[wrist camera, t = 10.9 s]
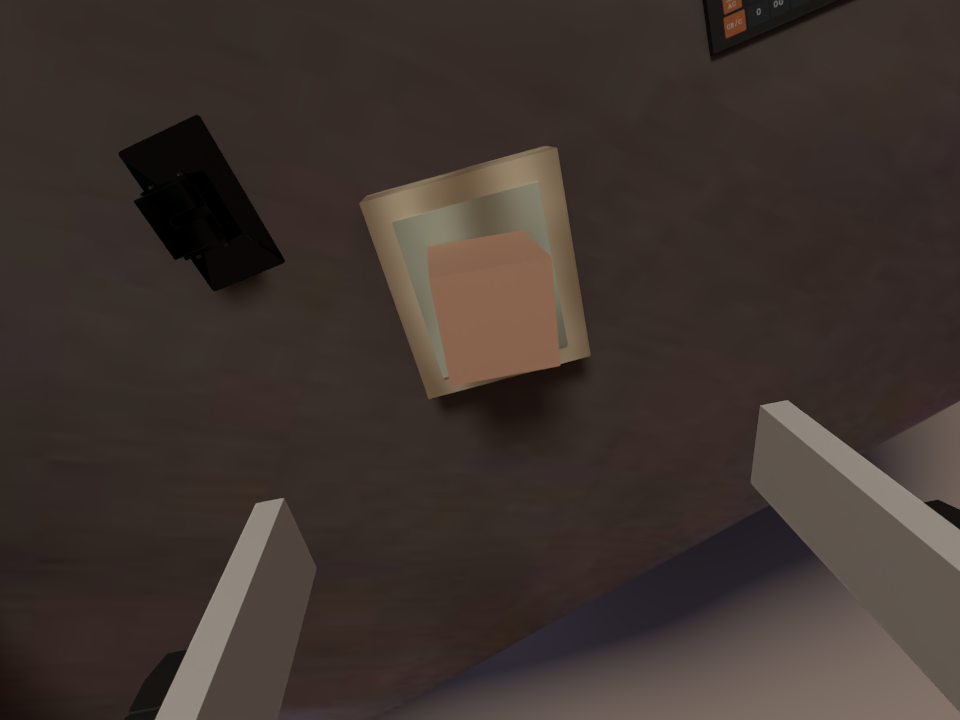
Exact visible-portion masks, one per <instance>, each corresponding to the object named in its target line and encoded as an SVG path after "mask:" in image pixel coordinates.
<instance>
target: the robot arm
mask: <svg viewBox="0 0 960 720" xmlns="http://www.w3.org/2000/svg"><path fill="white" fill-rule="evenodd" d="M751 484H752V485H753V486H754V487H755V488H756V490H757V491H758V492H759V493H760V494H761V495H762V496H763V497H764V498H765V499H766V500H767V502H768V503H769V504H770V505H771V506H772V507H773V508H774V509H775V510H776V511H777V512H778V514H779V515H780V516H781V517H782V518H783V519H784V520H785V521H786V522H787V523H788V525H789V526H790V527H791V528H792V529H793V530H794V531H795V532H796V533H797V534H798V536H799V537H800V538H801V539H802V540H803V541H804V542H805V543H806V544H807V545H808V546H809V548H810V549H812V551H813V552H814V553H815V554H816V555H817V556H818V557H819V558H820V560H821V561H822V562H823V563H824V564H825V565H826V566H827V567H828V568H829V570H830V571H831V572H832V573H833V574H834V575H835V576H836V577H837V578H838V579H839V580H840V582H841V583H842V584H843V585H844V586H845V587H846V588H847V589H848V590H849V591H850V593H851V594H852V595H853V596H854V597H855V598H856V599H857V600H858V601H859V602H860V603H861V604H862V606H863V607H864V608H865V609H866V610H867V611H868V612H869V613H870V614H871V615H872V617H873V618H874V619H875V620H876V621H877V622H878V623H879V624H880V625H881V626H882V628H883V629H884V630H885V631H886V632H887V633H888V634H889V635H890V636H891V637H892V638H893V640H894V641H895V642H896V643H897V644H898V645H899V646H900V647H901V648H902V649H903V651H904V652H905V653H906V654H907V655H908V656H909V657H910V658H911V659H912V660H913V661H914V663H915V664H916V665H917V666H918V667H919V668H920V669H921V670H922V671H923V673H925V675H926V676H927V677H928V678H929V679H930V680H931V681H932V682H933V683H934V684H935V686H936V687H937V688H938V689H939V690H940V691H941V692H942V693H943V694H944V695H945V697H946V698H947V699H948V700H949V701H950V702H951V703H952V704H953V705H954V706H955V708H956V709H957V710H958V711H959V712H960V510H959V509H957V508H955V507H953V506H951V505H948V504H946V503H944V502H942V501H939V500H935V501H929V502H924V503H923V502H922V501H921V500H919V499H918V498H916V497H915V496H914V495H913V494H911V493H910V492H909V491H907V490H906V489H905V488H903V487H902V486H901V485H899V484H898V483H897V482H895V481H894V480H893V479H891V478H890V477H889V476H887V475H886V474H885V473H883V472H882V471H881V470H879V469H878V468H877V467H875V466H874V465H873V464H871V463H870V462H869V461H867V460H866V459H865V458H863V457H862V456H861V455H859V454H858V453H857V452H855V451H854V450H853V449H852V448H850V447H849V446H848V445H846V444H845V443H844V442H842V441H841V440H840V439H838V438H837V437H836V436H834V435H833V434H832V433H830V432H829V431H828V430H826V429H825V428H824V427H822V426H821V425H820V424H818V423H817V422H816V421H814V420H813V419H812V418H810V417H809V416H808V415H806V414H805V413H804V412H802V411H801V410H800V409H798V408H797V407H796V406H794V405H793V404H792V403H790V402H789V401H788V400H787V401H781V402H776V403H771V404H766V405H761V406H760V410H759V418H758V426H757V435H756V443H755V451H754V459H753V467H752V475H751ZM316 569H317V568H316V566H315V564H314V561H313V559H312V557H311V555H310V553H309V551H308V548H307V546H306V544H305V542H304V540H303V538H302V536H301V533H300V531H299V529H298V527H297V525H296V523H295V520H294V518H293V516H292V514H291V512H290V510H289V507H288V505H287V503H286V501H285V499H284V498H281V499H276V500H271V501H266V502H261V503H256V504H255V506H254V509H253V511H252V513H251V515H250V517H249V519H248V521H247V524H246V526H245V528H244V530H243V532H242V534H241V536H240V539H239V541H238V543H237V545H236V547H235V549H234V551H233V554H232V556H231V558H230V560H229V562H228V564H227V566H226V569H225V571H224V573H223V575H222V577H221V579H220V581H219V584H218V586H217V588H216V590H215V592H214V594H213V596H212V599H211V601H210V603H209V605H208V607H207V609H206V611H205V614H204V616H203V618H202V620H201V622H200V624H199V626H198V628H197V631H196V633H195V635H194V637H193V639H192V641H191V643H190V646H189V648H188V650H183V651H178V652H173V653H168V654H167V655H166V656H165V657H164V658H163V659H162V661H161V662H160V663H159V664H158V665H157V667H156V668H155V669H154V670H153V671H152V673H151V674H150V675H149V676H148V677H147V679H146V680H145V681H144V683H143V685H142V687H141V689H140V691H139V692H138V694H137V696H136V698H135V700H134V702H133V704H132V706H131V708H130V710H129V716H128V717H125V719H124V720H277V719H278V715H279V711H280V708H281V704H282V700H283V696H284V692H285V688H286V684H287V681H288V677H289V673H290V669H291V665H292V661H293V657H294V654H295V650H296V646H297V642H298V638H299V634H300V630H301V626H302V623H303V619H304V615H305V611H306V607H307V603H308V599H309V596H310V592H311V588H312V584H313V580H314V576H315V572H316Z"/></svg>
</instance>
